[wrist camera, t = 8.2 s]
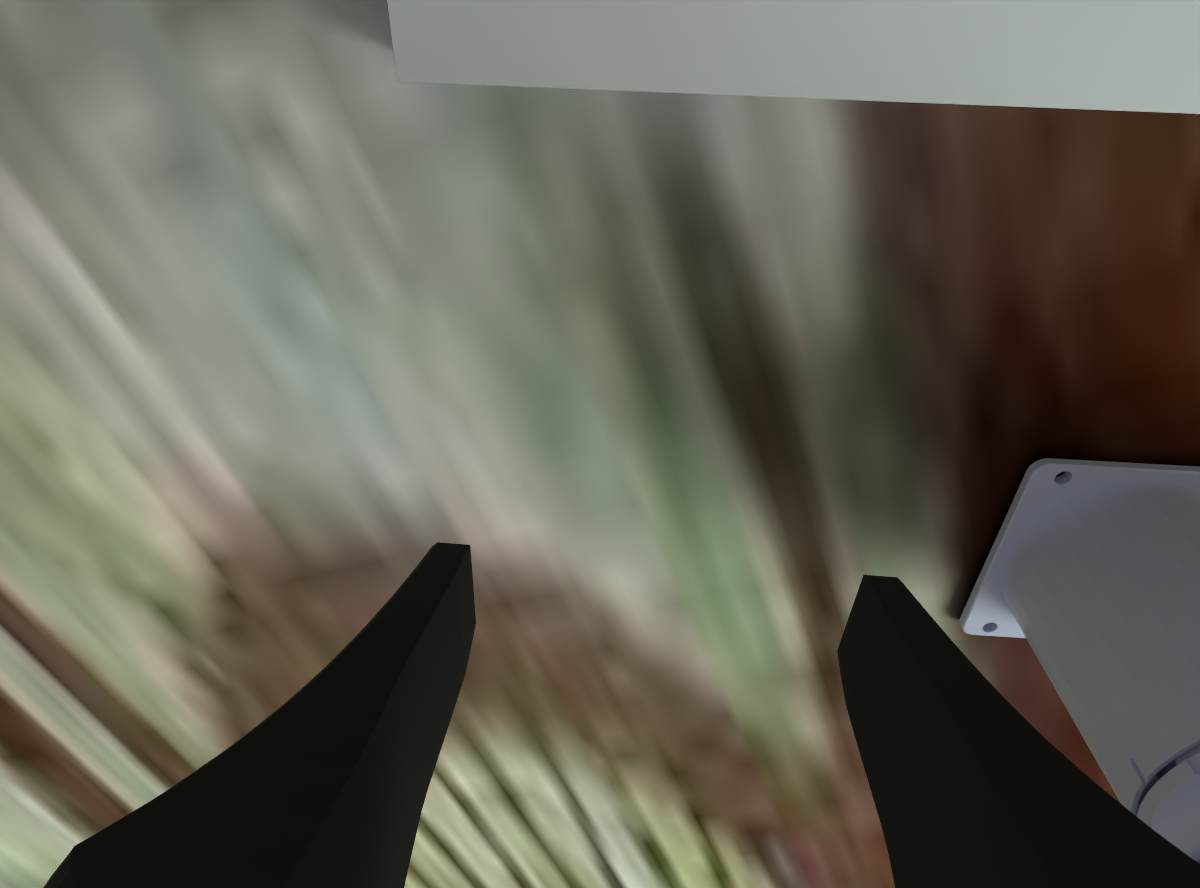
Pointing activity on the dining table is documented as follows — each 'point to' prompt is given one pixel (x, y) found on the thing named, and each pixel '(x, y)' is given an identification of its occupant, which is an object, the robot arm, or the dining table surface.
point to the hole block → (818, 49)
